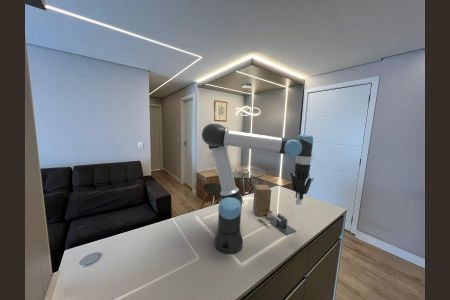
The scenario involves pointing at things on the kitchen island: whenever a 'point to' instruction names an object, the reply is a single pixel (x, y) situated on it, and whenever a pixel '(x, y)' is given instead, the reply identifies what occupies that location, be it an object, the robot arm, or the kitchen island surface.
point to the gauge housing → (274, 223)
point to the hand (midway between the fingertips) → (298, 203)
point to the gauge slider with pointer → (280, 221)
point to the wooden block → (261, 199)
